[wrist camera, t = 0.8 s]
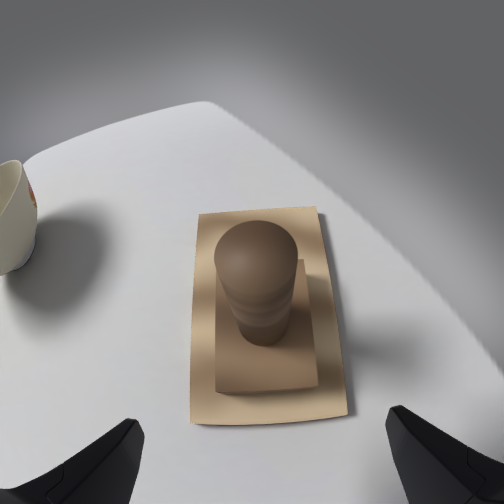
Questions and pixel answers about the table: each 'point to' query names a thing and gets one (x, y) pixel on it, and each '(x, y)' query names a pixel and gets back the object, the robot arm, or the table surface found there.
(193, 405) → the oak board
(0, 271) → the bowl
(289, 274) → the block
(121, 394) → the table surface
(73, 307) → the table surface
